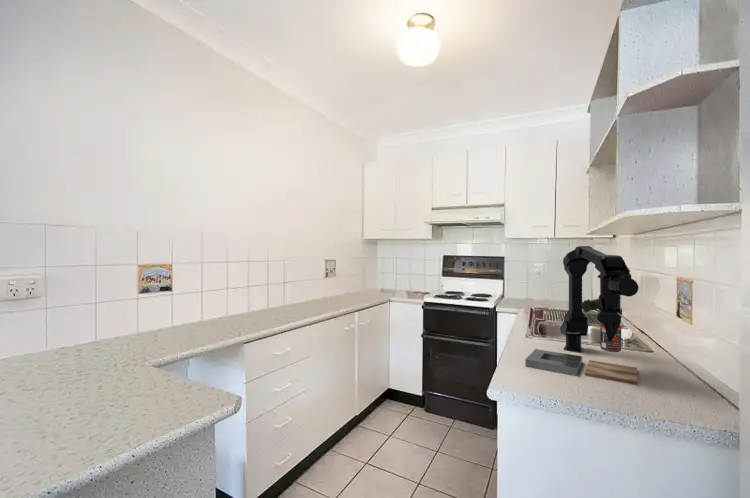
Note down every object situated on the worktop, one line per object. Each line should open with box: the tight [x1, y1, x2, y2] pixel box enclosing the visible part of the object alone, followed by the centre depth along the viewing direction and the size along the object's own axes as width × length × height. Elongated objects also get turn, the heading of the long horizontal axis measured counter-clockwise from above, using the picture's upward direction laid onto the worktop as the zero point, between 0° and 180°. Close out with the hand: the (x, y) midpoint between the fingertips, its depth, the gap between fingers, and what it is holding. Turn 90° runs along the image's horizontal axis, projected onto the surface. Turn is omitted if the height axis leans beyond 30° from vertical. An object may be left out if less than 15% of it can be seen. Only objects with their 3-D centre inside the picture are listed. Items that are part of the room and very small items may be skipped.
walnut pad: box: [584, 359, 639, 386], centre depth 116 cm, size 16×14×1 cm
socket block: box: [524, 348, 583, 376], centre depth 124 cm, size 16×16×2 cm
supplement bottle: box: [599, 322, 622, 353], centre depth 116 cm, size 6×6×11 cm
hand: (610, 338), depth 116 cm, fingers closed on supplement bottle, 6 cm apart
